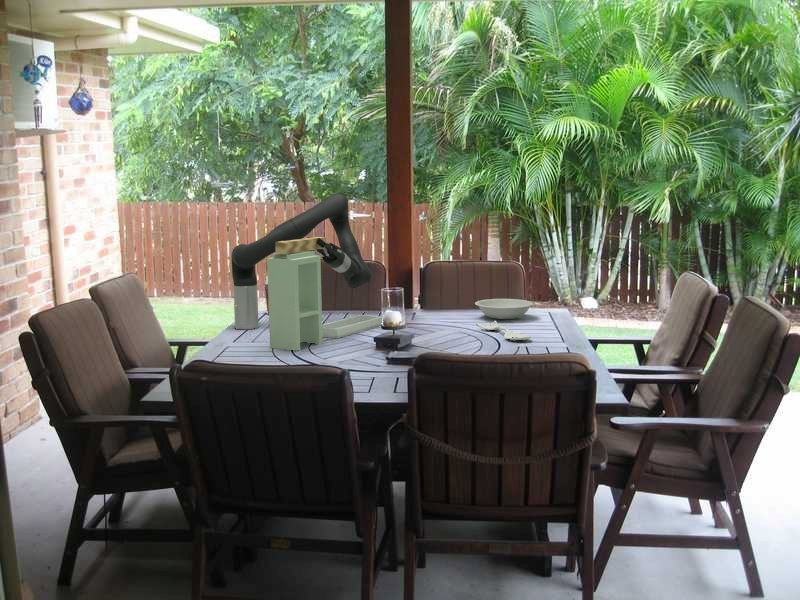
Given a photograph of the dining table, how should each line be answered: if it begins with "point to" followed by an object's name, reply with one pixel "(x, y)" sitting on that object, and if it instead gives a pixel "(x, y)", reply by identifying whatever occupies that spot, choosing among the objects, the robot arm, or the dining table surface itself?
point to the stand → (294, 299)
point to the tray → (350, 326)
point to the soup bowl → (504, 308)
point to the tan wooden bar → (298, 245)
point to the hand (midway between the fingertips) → (312, 239)
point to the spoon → (508, 333)
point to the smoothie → (267, 294)
